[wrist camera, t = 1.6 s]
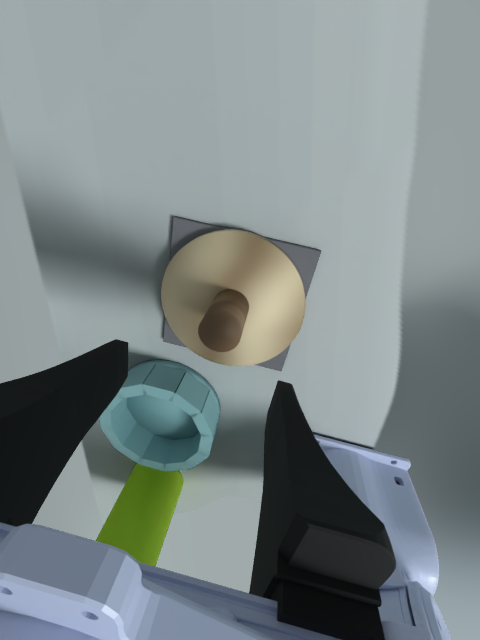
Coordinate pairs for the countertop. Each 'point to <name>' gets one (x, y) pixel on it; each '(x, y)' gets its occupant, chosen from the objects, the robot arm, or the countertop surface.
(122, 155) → the countertop surface
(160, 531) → the soap dispenser
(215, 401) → the bowl
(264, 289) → the lid
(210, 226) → the mat
